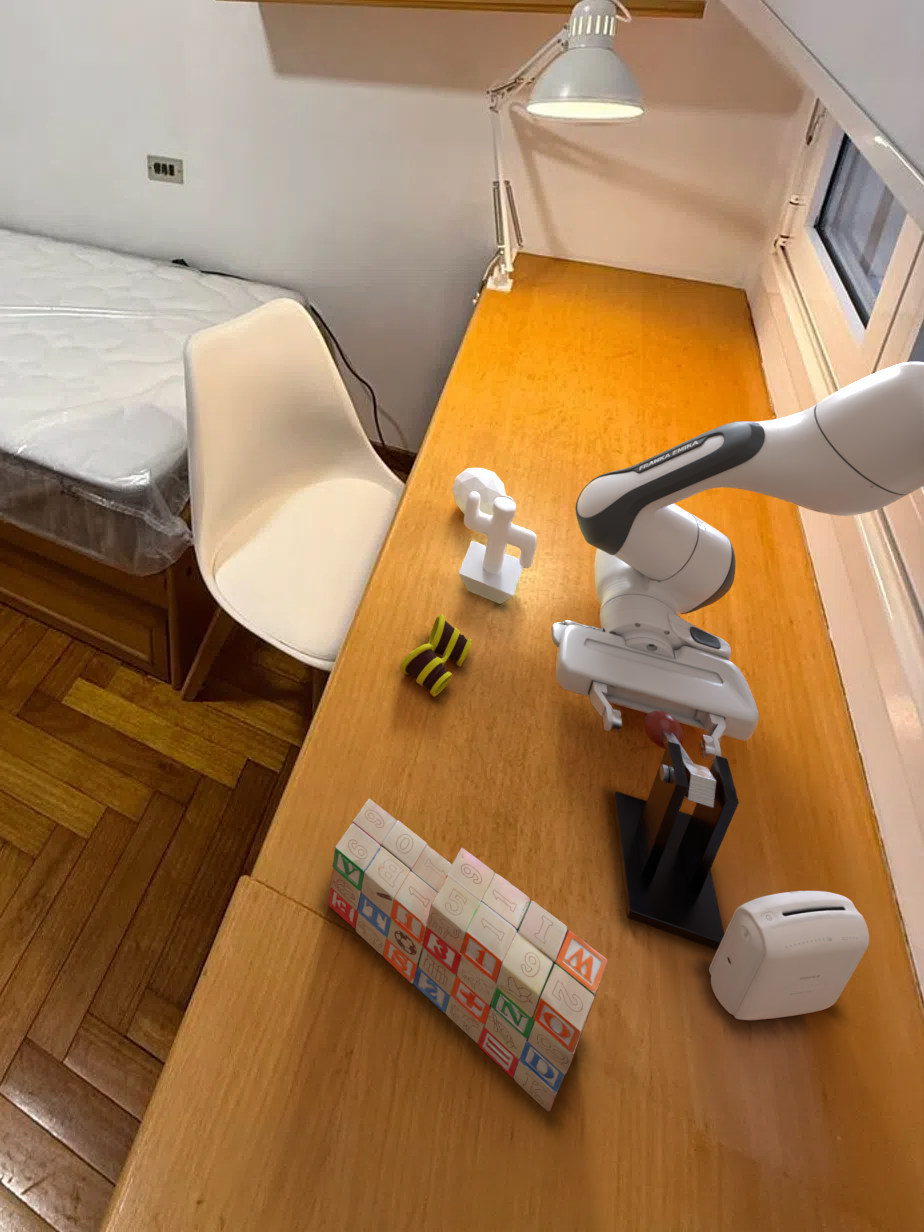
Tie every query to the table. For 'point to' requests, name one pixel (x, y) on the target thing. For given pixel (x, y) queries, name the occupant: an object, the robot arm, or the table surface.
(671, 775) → the bracket
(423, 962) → the stack of blocks
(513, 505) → the figurine
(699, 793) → the lever
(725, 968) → the photo printer
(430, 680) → the opera glasses
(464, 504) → the geometric ball
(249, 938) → the table surface
